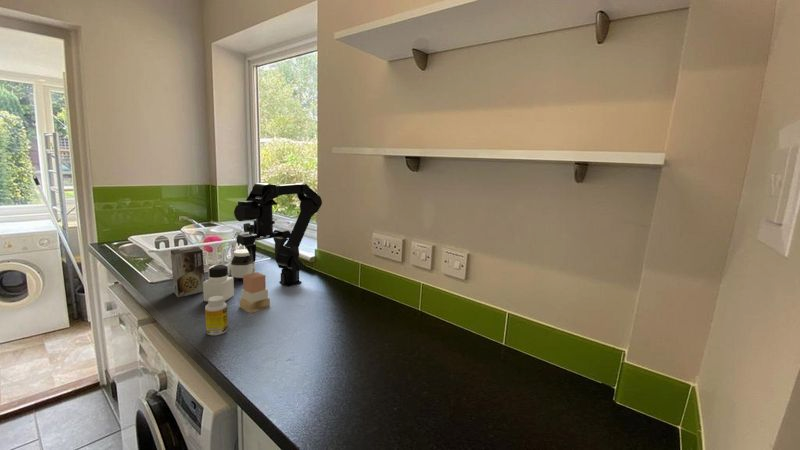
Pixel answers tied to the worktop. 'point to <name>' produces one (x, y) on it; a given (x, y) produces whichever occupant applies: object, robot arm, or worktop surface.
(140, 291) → the worktop surface
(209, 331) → the supplement bottle
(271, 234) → the robot arm
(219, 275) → the medicine bottle
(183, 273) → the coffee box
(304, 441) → the worktop surface
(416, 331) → the worktop surface
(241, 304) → the oak base block
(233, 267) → the spread jar
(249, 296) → the cream block
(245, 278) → the terracotta block
